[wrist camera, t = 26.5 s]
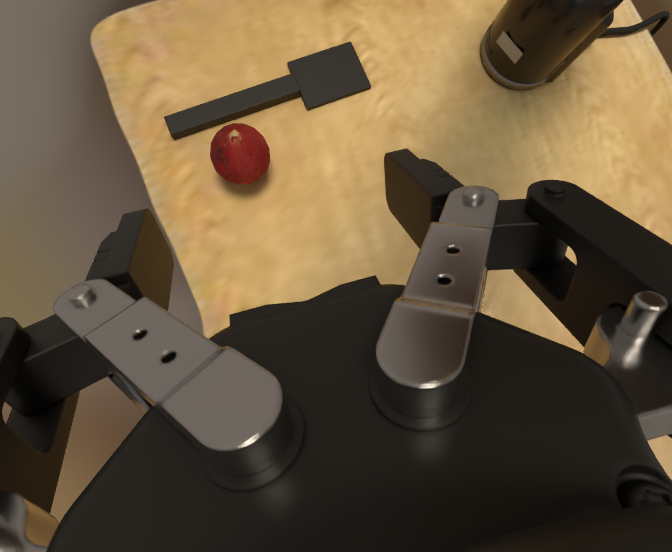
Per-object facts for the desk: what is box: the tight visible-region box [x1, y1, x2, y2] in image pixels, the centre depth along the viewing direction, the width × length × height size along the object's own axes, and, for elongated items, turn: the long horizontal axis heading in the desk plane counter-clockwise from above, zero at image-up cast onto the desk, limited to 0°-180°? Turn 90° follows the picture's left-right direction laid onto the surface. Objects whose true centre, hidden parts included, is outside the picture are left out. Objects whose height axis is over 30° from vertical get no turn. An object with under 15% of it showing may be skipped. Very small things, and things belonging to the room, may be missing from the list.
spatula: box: [164, 42, 371, 139], centre depth 43 cm, size 23×6×1 cm, turn 113°
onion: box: [210, 123, 270, 184], centre depth 39 cm, size 6×6×8 cm
